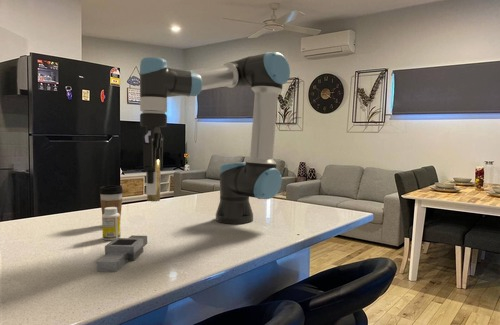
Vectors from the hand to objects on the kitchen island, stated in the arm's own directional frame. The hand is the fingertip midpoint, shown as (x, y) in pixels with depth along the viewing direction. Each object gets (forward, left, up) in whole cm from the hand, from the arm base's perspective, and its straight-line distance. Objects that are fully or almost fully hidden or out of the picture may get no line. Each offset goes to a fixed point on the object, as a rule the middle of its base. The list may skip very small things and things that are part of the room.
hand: (153, 193), depth 112 cm
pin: (0, 0, -2) cm, 2 cm away
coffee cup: (+25, -29, -17) cm, 42 cm away
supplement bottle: (+18, -12, -17) cm, 28 cm away
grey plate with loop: (+7, +5, -17) cm, 19 cm away
